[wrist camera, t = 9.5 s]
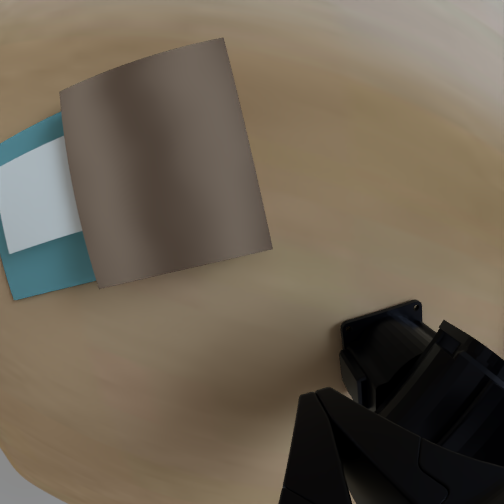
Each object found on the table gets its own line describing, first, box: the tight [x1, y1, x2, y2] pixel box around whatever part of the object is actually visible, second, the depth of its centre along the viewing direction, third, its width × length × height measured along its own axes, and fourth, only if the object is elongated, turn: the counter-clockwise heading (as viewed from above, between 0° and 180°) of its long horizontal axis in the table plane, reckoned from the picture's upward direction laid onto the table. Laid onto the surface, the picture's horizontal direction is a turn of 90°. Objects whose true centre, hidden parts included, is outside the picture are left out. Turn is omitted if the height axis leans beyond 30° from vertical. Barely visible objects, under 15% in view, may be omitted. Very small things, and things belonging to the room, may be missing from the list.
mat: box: [0, 112, 96, 300], centre depth 19 cm, size 10×12×1 cm
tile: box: [0, 136, 82, 254], centre depth 17 cm, size 7×6×2 cm
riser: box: [60, 38, 273, 289], centre depth 17 cm, size 10×12×4 cm
